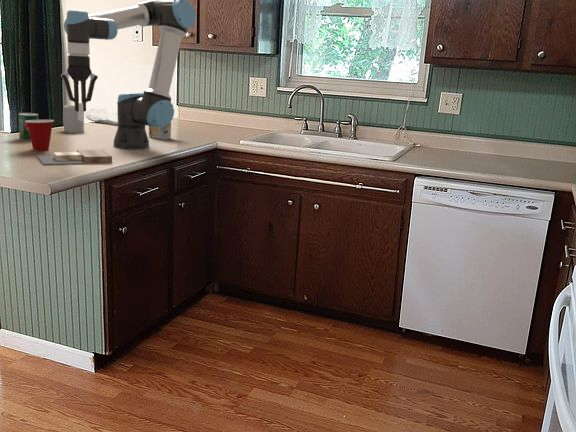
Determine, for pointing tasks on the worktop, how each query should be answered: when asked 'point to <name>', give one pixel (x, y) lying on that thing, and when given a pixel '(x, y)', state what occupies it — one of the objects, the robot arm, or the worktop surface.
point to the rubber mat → (51, 161)
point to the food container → (102, 116)
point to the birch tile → (67, 156)
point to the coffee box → (160, 132)
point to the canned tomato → (25, 125)
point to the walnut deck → (95, 156)
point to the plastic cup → (40, 133)
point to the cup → (72, 120)
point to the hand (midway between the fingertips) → (80, 120)
